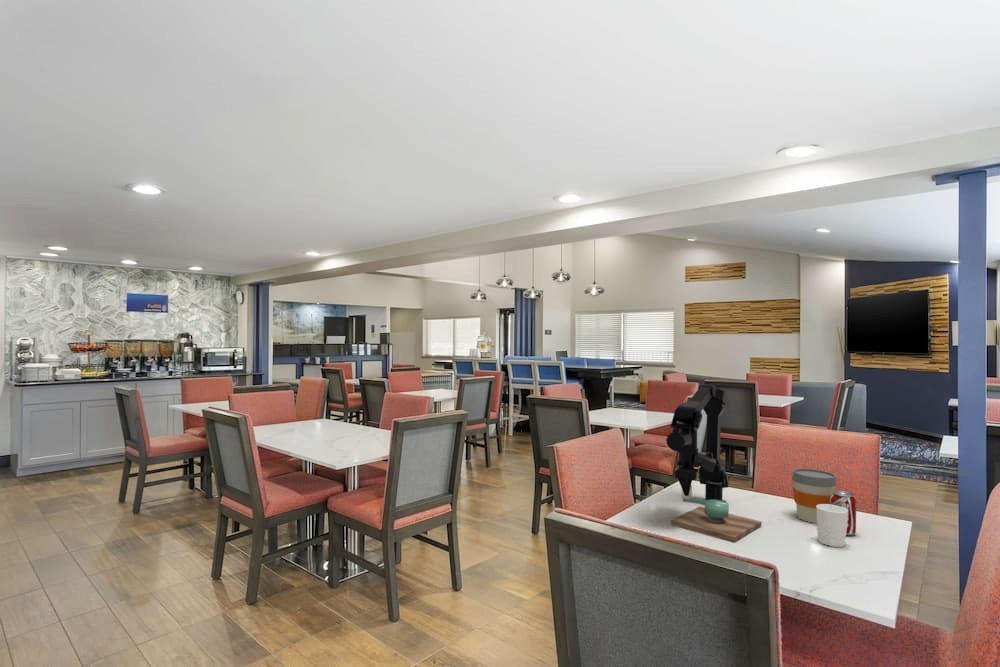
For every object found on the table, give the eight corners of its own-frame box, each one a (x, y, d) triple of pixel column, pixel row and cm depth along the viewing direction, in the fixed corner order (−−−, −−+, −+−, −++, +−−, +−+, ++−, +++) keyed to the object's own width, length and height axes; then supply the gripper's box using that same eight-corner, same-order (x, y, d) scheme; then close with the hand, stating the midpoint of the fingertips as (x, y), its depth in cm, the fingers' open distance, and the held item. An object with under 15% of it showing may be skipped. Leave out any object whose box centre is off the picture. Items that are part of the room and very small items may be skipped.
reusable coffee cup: (824, 514, 186) (825, 469, 186) (843, 527, 173) (844, 479, 173) (785, 512, 187) (786, 467, 187) (801, 524, 174) (802, 477, 174)
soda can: (848, 529, 171) (849, 490, 171) (860, 537, 164) (861, 497, 164) (825, 528, 172) (826, 489, 172) (836, 536, 165) (837, 496, 165)
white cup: (845, 550, 154) (846, 514, 154) (813, 543, 159) (814, 508, 159) (848, 542, 160) (849, 507, 160) (817, 535, 165) (818, 502, 165)
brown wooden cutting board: (699, 510, 186) (700, 501, 186) (761, 526, 172) (761, 516, 172) (670, 524, 172) (670, 514, 172) (735, 542, 158) (735, 531, 158)
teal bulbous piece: (679, 510, 175) (679, 487, 175) (684, 505, 181) (684, 482, 181) (726, 519, 167) (726, 494, 167) (730, 513, 173) (730, 489, 173)
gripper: (713, 454, 164) (713, 506, 165) (715, 441, 181) (715, 488, 182) (674, 450, 169) (674, 501, 169) (680, 438, 186) (679, 484, 186)
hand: (687, 493), depth 176 cm, fingers open, 4 cm apart
